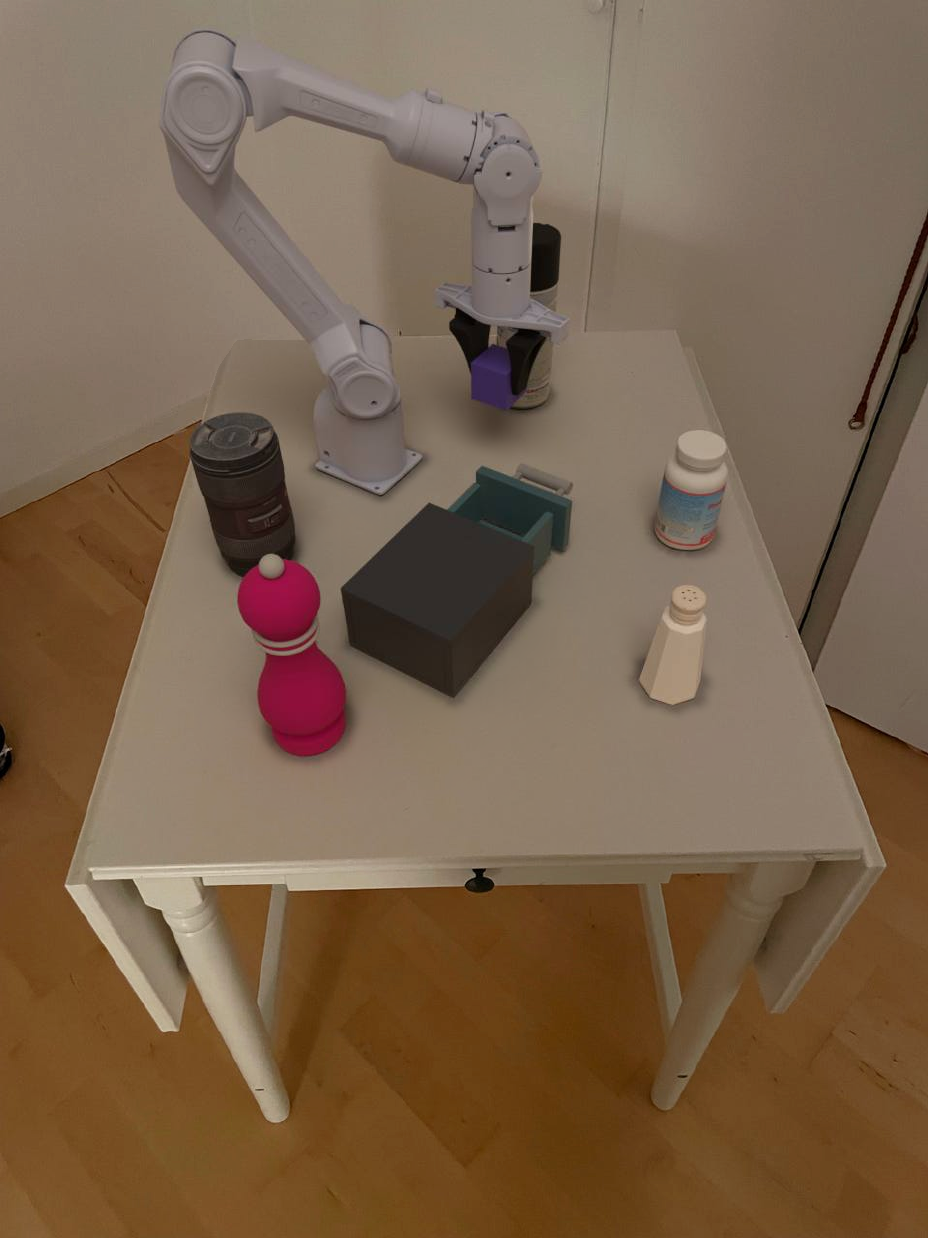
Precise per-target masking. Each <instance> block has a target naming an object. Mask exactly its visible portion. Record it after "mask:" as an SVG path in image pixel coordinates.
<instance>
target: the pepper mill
mask: <svg viewBox="0 0 928 1238" xmlns="http://www.w3.org/2000/svg"><path fill="white" fill-rule="evenodd" d="M236 599H237V600H236V602H237V607H238V612H239V614H240V616H241V619H242V620H243V622H244V623H245V624H246V626H247V627H249V628H250V629H251V632H252V634H253V640H254V643H255V645H256V646H257V647H258V648H259V649H260V650H261V651H263V652H264V654H265V661H264V665H263V668H262V670H261V673H260V675H259V678H258V685H257V691H256V692H257V702H258V709H259V712H260V715H261V716H262V718H263V719H264V721H265V722H266V723H267V724H268V725H269V726H270V728H271V732H272V736H273V738H274V740H275V742H276V744H277V745H278V746H279V747H280V748H281V749H283V750H284V752H287V753H289V754H292V755H294V756H295V755H296V756H300V757H301V756H303V757H308V756H316V755H318V754H322V753H324V752H326V751H327V750H329V749H331V748H333V747H334V746H335V745H336V744H338V742H339V741H340V739H341V738H342V736H343V735H344V733H345V730H346V724H347V719H346V713H345V710H344V709H345V705H346V702H347V687H346V684H345V681H344V678H343V675H342V673H341V672H340V669H339V668H338V667H337V665H336V664H335V662H333V660H331V658H330V657H329V656H327V654H325V653H324V652H323V651H322V650H321V649H320V648H319V647H318V644H317V639H318V637H319V634H320V630H321V625H320V621H319V615H318V613H319V610H320V607H321V601H322V600H321V591H320V588H319V584H318V582H317V580H316V578H315V576H314V575H313V574H312V572H310V570H309V569H308V568H307V567H305V566H304V565H302V564H301V563H299V562H296V561H294V560H291V561H290V560H287V559H281V558H280V557H279V556H278V555H275V554H267V555H265V556H264V557H263V558H262V559H261V560H260V562H259V564H258V565H257V566H255V567H253V568H252V569H251V570H250V571H249V572H248V573H247V574H246V575H245V576H244V577H242V579H241V581H240V583H239V586H238V590H237V598H236Z"/></svg>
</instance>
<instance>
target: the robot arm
mask: <svg viewBox="0 0 928 1238" xmlns="http://www.w3.org/2000/svg"><path fill="white" fill-rule="evenodd" d="M170 68H171V69H170V72H169V75H168V76H167V77H166V79H165V82H164V85H163V90H162V95H161V103H160V110H159V111H160V112H159V118H158V126H159V129H160V131H161V133H162V135H163V137H164V142H165V145H166V150H167V151H166V152H167V155H168V159H169V164H170V165H169V166H170V168H171V173H172V177H173V181H174V187H175V190H176V193H177V194H178V196H179V197H180V199H181V200H182V202H184V203H185V205H186V206H187V207H188V208H189V209H190V210H191V212H192V213H193V214H194V215H195V216H196V217H197V219H199V221H200V222H201V223H202V224H203V226H205V227H206V229H207V230H208V231H209V232H210V233H211V235H213V236H214V238H215V239H216V240H217V241H218V242H219V243H220V244H221V246H222V247H223V248H224V249H225V250H226V251H227V252H228V254H229V255H230V256H231V257H232V258H233V259H234V260H235V262H236V263H237V264H238V265H239V266H240V267H241V269H242V270H243V271H244V272H245V273H246V274H247V275H248V276H249V278H250V279H251V280H252V281H253V282H254V283H255V284H256V286H257V287H258V288H259V289H260V290H261V291H262V292H263V293H264V295H266V296H267V298H268V299H269V300H270V301H271V302H272V303H273V305H274V306H275V307H276V308H277V310H278V311H280V312H281V314H282V315H283V316H284V317H285V318H286V319H287V320H288V321H289V322H290V324H291V325H292V326H293V327H294V329H295V330H296V331H297V332H298V333H299V334H300V335H301V337H302V338H303V339H304V340H305V341H306V342H307V343H308V344H309V346H310V349H311V351H312V353H313V355H314V357H315V360H316V362H317V365H318V368H319V369H320V372H321V374H322V375H323V377H324V378H325V379H326V380H327V381H328V382H329V384H327V385H326V386H324V388H323V389H322V390H321V391H320V393H319V394H318V396H317V398H316V399H315V403H314V406H313V412H312V413H313V414H312V417H313V418H312V419H313V427H314V432H315V438H316V439H315V440H316V443H317V444H316V445H317V450H318V451H317V452H318V457H319V461H317V462H316V463H315V468H316V470H318V471H321V472H323V473H326V474H328V475H331V476H333V477H336V478H338V479H340V480H343V481H345V482H348V483H349V484H352V485H354V486H357V487H359V488H361V489H363V490H366V491H369V492H371V493H374V494H376V495H378V496H384V495H385V494H386V493H387V492H388V491H389V490H390V489H391V488H393V487H394V486H395V485H396V484H397V483H398V482H399V481H400V480H401V479H402V478H404V476H405V475H407V474H408V473H409V472H410V471H412V470H413V468H414V467H416V466H417V465H418V464H419V463H420V462H421V461H422V460H423V455H422V454H421V453H419V452H416V451H414V450H411V449H408V448H406V443H405V440H406V439H405V429H404V418H403V417H404V416H403V405H402V403H403V401H402V390H401V389H400V386H399V385H398V383H397V381H396V379H395V378H396V377H395V371H394V363H393V357H392V353H393V349H392V348H393V346H392V345H393V344H392V340H391V337H390V335H389V333H388V331H386V329H385V328H384V327H383V326H381V325H380V324H379V323H377V322H376V321H375V322H374V321H372V320H370V319H368V318H366V317H365V316H363V314H362V313H361V312H360V311H359V310H358V309H357V307H356V306H355V305H352V304H348V303H344V302H343V301H342V299H341V298H340V297H339V296H338V294H337V293H336V292H335V291H334V289H333V288H332V287H331V286H330V284H329V283H328V282H327V281H326V280H325V278H324V277H323V276H322V274H321V273H320V272H319V271H318V269H316V268H315V266H314V265H313V264H312V263H311V261H310V260H309V259H308V257H307V256H306V255H305V254H304V252H303V251H302V250H301V249H300V248H299V246H298V245H297V244H296V243H295V241H294V240H293V239H292V238H291V237H290V236H289V234H288V233H287V232H286V230H284V228H283V227H282V225H280V223H279V222H278V220H277V219H276V218H275V217H274V215H272V214H271V212H270V211H269V209H268V208H267V207H266V206H265V205H264V203H263V202H262V201H261V200H260V198H259V197H258V196H257V195H256V194H255V192H254V191H253V190H252V189H251V188H250V186H249V185H248V184H247V182H246V181H245V180H244V179H243V178H242V177H241V175H240V174H239V173H238V172H237V170H236V168H235V167H236V166H235V157H236V146H237V144H238V142H239V140H240V138H241V136H242V134H243V131H244V128H245V126H246V124H247V123H246V122H247V118H248V117H253V125H254V131H255V132H256V133H257V132H261V131H263V130H264V129H267V128H269V127H271V126H272V125H274V124H276V123H278V122H280V121H282V120H284V119H286V118H288V117H295V118H299V119H302V120H306V121H310V122H313V123H317V124H320V125H324V126H327V127H330V128H334V129H338V130H341V131H345V132H349V133H352V134H356V135H358V136H362V137H366V138H370V139H373V140H375V141H376V140H377V141H380V142H382V143H383V144H384V145H385V147H386V149H387V151H388V153H389V155H390V158H391V159H392V161H393V162H395V163H396V164H397V163H398V164H401V165H403V166H406V167H410V168H412V169H415V170H417V171H421V172H423V173H427V174H429V175H433V176H435V177H439V178H441V179H445V180H447V181H451V182H453V183H457V184H459V185H472V209H471V214H470V217H471V218H470V227H471V231H470V235H471V237H470V238H471V240H470V241H471V285H470V284H469V285H468V284H458V283H454V282H448V281H444V282H443V283H441V284H440V285H438V287H436V288H435V289H434V302H435V307H436V308H439V309H442V310H444V309H446V308H447V307H448V308H450V309H454V310H455V313H454V317H453V318H451V320H449V322H448V328H449V331H450V332H451V334H452V335H453V337H454V338H455V339H456V341H457V343H458V345H459V347H460V349H461V351H462V353H463V355H464V358H465V360H466V364H467V367H468V370H469V373H470V375H471V362H472V361H474V360H475V359H476V358H477V357H478V356H479V355H480V354H482V353H483V352H484V351H485V350H486V349H487V348H489V347H490V345H489V342H490V333H491V328H492V327H494V326H495V327H497V326H502V327H512V328H518V332H517V333H515V334H514V335H513V336H511V337H510V338H509V339H508V340H507V341H506V347H507V350H508V353H509V357H510V364H511V390H512V394H513V395H516V396H518V395H519V394H520V393H521V392H522V391H523V390H524V389H525V388H527V383H528V379H529V376H530V372H531V370H532V367H533V364H534V362H535V359H536V357H537V355H538V353H539V351H540V349H541V347H542V346H543V344H544V342H545V340H546V339H547V337H548V338H551V340H550V341H551V342H552V343H553V344H555V345H559V346H560V345H561V344H563V342H564V341H565V340H566V339H567V338H568V337H569V336H570V323H571V318H570V317H567V316H564V315H562V314H560V313H557V312H556V313H555V312H553V311H552V310H550V309H548V308H547V307H545V306H543V305H542V304H540V303H538V302H537V301H535V300H533V299H532V298H530V279H531V256H532V231H533V223H534V211H533V200H534V195H535V194H536V192H537V190H538V189H539V187H540V184H541V182H542V177H543V170H541V169H540V161H539V160H540V159H539V156H538V153H537V152H536V149H535V147H534V145H533V143H532V141H531V139H530V137H529V134H528V132H527V130H526V128H525V127H524V126H523V125H522V124H521V123H520V121H518V120H517V119H515V118H514V117H512V116H510V115H509V114H508V113H507V112H505V111H494V112H493V111H491V110H488V109H485V108H483V109H482V110H481V112H480V113H479V112H477V111H474V110H472V109H469V108H466V107H463V106H460V105H458V104H456V103H452V102H449V101H447V100H444V99H443V98H444V96H443V94H442V91H441V90H440V89H438V88H437V87H436V88H435V87H433V86H431V85H427V86H426V88H425V91H424V92H422V91H419V90H417V89H414V88H411V89H408V90H406V91H404V92H403V93H401V94H398V95H396V96H394V97H389V96H386V95H384V94H382V93H379V92H377V91H374V90H372V89H370V88H367V87H365V86H362V85H360V84H357V83H355V82H353V81H351V80H348V79H346V78H343V77H340V76H339V75H336V74H334V73H331V72H329V71H327V70H324V69H321V68H319V67H317V66H315V65H312V64H310V63H307V62H305V61H303V60H300V59H298V58H295V57H293V56H291V55H288V54H286V53H283V52H281V51H279V50H277V49H274V48H272V47H270V46H268V45H266V44H264V43H261V42H259V41H257V40H255V39H252V38H248V37H243V36H237V37H236V40H235V39H234V38H232V37H231V36H230V35H229V34H227V33H225V32H224V31H222V30H219V29H216V28H212V27H199V28H195V29H192V30H190V31H189V32H187V33H186V34H184V35H183V36H182V37H181V38H180V40H179V41H178V43H177V44H176V46H175V48H174V51H173V56H172V61H171V67H170Z"/></svg>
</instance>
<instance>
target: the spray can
mask: <svg viewBox="0 0 928 1238" xmlns="http://www.w3.org/2000/svg"><path fill="white" fill-rule="evenodd" d="M561 246H562V234H561V231H560V230H559V229H558V228H556V227H555V226H554V225H551V224H549V223H541V222H533V231H532V256H531V279H530V298H532V299H533V300H535V301H537V302H538V303H540V304H542V305H543V306H545V307H547V308H548V309H550V310H552V311H553V312H555V313H557V302H558V300H557V299H558V292H559V291H558V290H559V279H560V266H561V265H560V263H561V248H562V247H561ZM517 332H518V328H512V327H502V326H496V345H498V346H501V347H504V348H507V347H506V341H507V340H508V339H509V338H510V337H511V336H513V335H514V334H515V333H517ZM550 340H551V338H548V337H547V339H546V340H545V342H544V344H543V346H542V347H541V349H540V351H539V353H538V355H537V357H536V359H535V362H534V364H533V367H532V370H531V372H530V376H529V379H528V383H527V391H526V392H525V393H524V394H523V395H522V396H521V397H520V398H519V399H518V400H517V401H516V402H515V403H514V404H513V405H512V406H511V407H510V408H511V409H517V410H530V409H534V408H536V407H539V406H541V405H543V404H544V403H545V402H546V401H547V400H548V397H549V395H550V388H551V377H552V376H551V375H552V363H553V352H554V343H552V342H551V341H550Z"/></svg>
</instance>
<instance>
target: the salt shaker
mask: <svg viewBox="0 0 928 1238" xmlns="http://www.w3.org/2000/svg"><path fill="white" fill-rule="evenodd" d="M706 604H707V595H706V594H705V593H704V591H703V590H702V589H701V588H699V587H697V586H695V585H692V584H684V585H679V586H677V587H676V588H673V590H672V592H671V595H670V603H669V605H666V606H665V608H664V610H663V613H662V615H661V617H660V620H659V623H658V625H657V628H656V631H655V634H654V637H653V639H652V642H651V645H650V648H649V650H648V653H647V656H646V658H645V661H644V664H643V667H642V671H641V673H640V675H639V678H638V682H639V683H640V684H641V686H642V688H643V689H644V691H645V692H646V694H647V695H648V697H649V698H650V699H652V700H656V701H659V702H662V703H664V704H668V705H670V706H674V705H677V704H681V703H683V702H687V701H689V700H693V699H695V697H696V694H697V692H698V688H699V685H700V683H701V677H702V669H703V660H704V659H703V658H704V650H705V643H706V641H705V640H706V631H707V621H708V620H707V616H706V615H705V614H704V610H705V606H706Z"/></svg>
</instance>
